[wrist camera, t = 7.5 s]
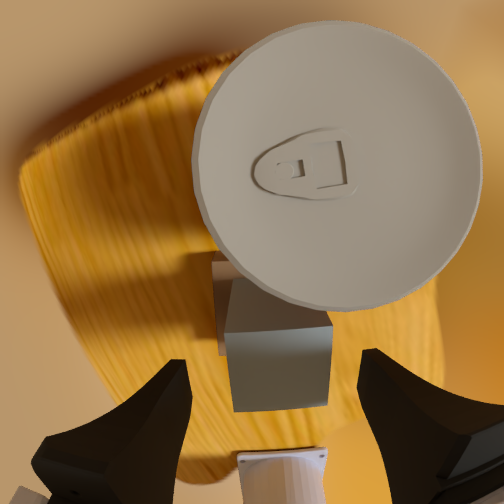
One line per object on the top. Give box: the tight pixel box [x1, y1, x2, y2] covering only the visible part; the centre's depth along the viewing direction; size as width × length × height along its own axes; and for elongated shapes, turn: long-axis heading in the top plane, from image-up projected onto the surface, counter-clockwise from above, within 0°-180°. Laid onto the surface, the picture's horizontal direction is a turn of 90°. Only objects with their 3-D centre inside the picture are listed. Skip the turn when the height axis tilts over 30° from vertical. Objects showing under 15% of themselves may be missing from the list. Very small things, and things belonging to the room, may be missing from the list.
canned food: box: [191, 20, 483, 312], centre depth 12 cm, size 8×8×11 cm
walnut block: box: [212, 251, 247, 356], centre depth 19 cm, size 6×6×2 cm
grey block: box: [224, 278, 333, 412], centre depth 15 cm, size 4×4×6 cm
